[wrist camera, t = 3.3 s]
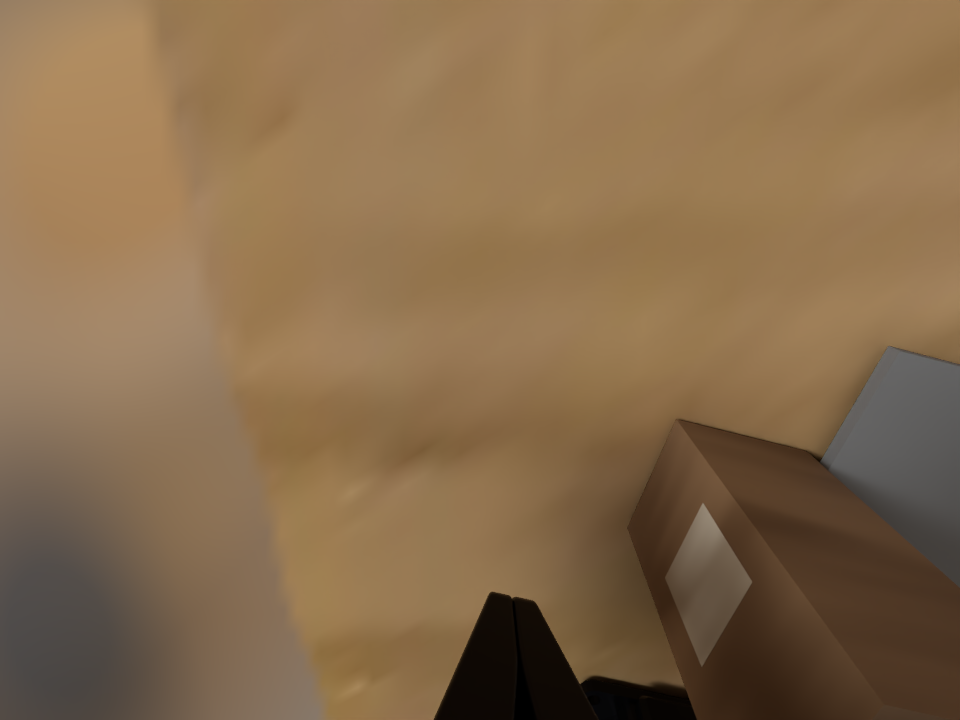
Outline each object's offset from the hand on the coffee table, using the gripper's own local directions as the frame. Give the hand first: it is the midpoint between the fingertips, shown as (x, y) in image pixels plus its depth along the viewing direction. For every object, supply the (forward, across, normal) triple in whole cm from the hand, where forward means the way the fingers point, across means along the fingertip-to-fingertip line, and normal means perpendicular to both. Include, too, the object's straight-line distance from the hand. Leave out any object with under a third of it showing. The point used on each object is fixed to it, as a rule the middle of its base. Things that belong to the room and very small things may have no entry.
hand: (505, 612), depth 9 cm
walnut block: (+6, -7, 0) cm, 9 cm away
